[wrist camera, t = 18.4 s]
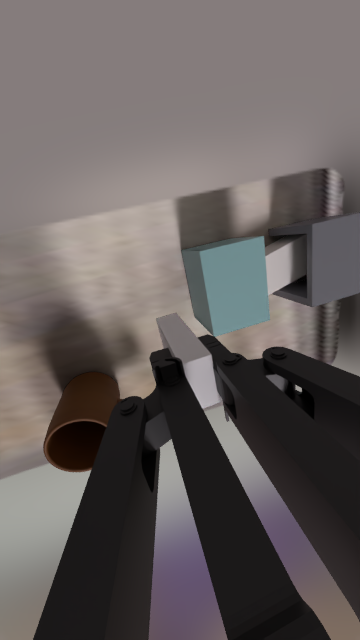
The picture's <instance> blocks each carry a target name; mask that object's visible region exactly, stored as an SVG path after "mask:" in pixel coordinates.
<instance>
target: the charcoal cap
mask: <svg viewBox="0 0 360 640" xmlns="http://www.w3.org/2000/svg"><path fill="white" fill-rule="evenodd" d="M293 234H307V279H305V280H301V281H298V282H294V283H290V284H288V285H286V286H284V287H282V288H281V289H279V290H277V291H275V292H273V294H274V295H277V296H280V297H283V298H286V299H289V300H292V301H295V302H298V303H301V304H304V305H307V306H310V307H315V306H318V305H321V304H324V303H328V302H331V301H334V300H338V299H341V298H344V297H347V296H351V295H354V294H357V293H360V212H357V213H350V214H343V215H336V216H329V217H322V218H315V219H310V220H306V221H301V222H297V223H293V224H289V225H285V226H280V227H276V228H272V229H269V236H278V235H293Z"/></svg>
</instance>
